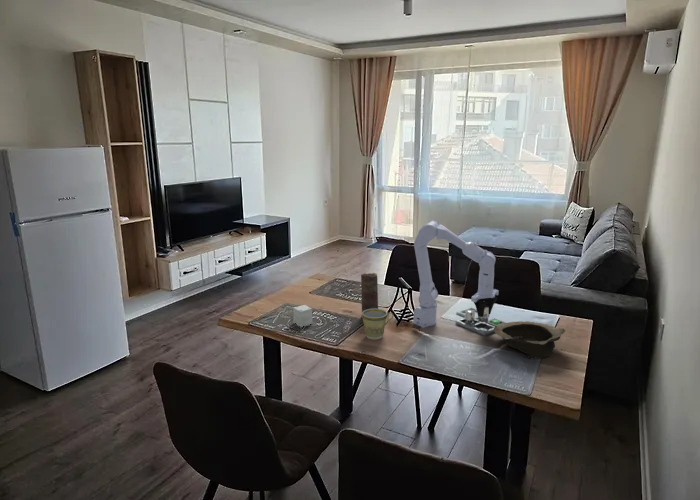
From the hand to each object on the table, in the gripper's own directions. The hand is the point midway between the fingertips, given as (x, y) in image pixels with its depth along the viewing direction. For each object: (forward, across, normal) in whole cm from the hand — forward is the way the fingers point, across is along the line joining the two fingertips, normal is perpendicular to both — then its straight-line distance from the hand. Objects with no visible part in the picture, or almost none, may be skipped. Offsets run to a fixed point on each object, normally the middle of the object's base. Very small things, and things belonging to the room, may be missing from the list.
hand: (484, 314), depth 185 cm
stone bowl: (+8, +2, -18) cm, 20 cm away
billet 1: (+7, 0, +7) cm, 10 cm away
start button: (+9, +9, 0) cm, 13 cm away
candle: (+8, -26, +42) cm, 50 cm away
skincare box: (+8, -54, +52) cm, 76 cm away
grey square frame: (+8, +10, +14) cm, 18 cm away
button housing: (+8, +9, 0) cm, 12 cm away
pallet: (+8, 0, +4) cm, 8 cm away
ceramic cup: (+8, -36, +24) cm, 44 cm away
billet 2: (+2, 0, 0) cm, 3 cm away
